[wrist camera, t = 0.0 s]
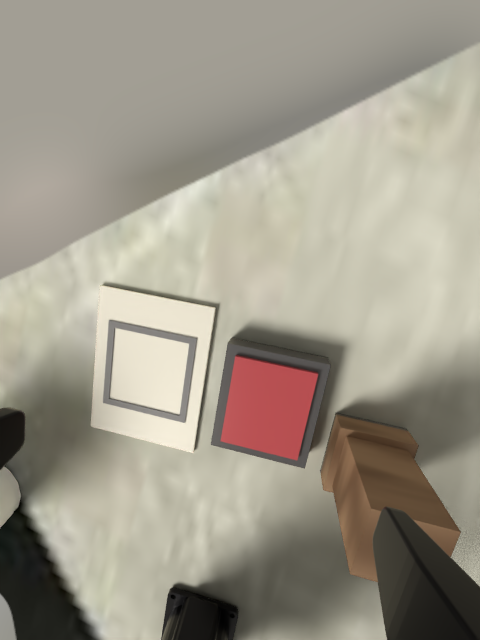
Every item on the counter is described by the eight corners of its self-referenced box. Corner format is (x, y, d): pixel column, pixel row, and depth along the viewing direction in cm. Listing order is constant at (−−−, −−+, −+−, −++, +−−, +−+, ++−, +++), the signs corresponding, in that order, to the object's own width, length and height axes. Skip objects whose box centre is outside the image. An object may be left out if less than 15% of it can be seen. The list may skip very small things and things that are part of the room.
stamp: (387, 487, 22) (441, 609, 14) (320, 470, 23) (337, 578, 15) (406, 428, 21) (476, 526, 13) (335, 412, 22) (362, 497, 14)
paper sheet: (194, 450, 24) (192, 453, 24) (92, 424, 25) (89, 427, 25) (216, 307, 21) (214, 308, 21) (101, 285, 22) (98, 285, 22)
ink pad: (303, 455, 23) (305, 471, 21) (215, 433, 23) (209, 447, 22) (327, 357, 21) (331, 366, 19) (231, 337, 22) (226, 344, 20)
